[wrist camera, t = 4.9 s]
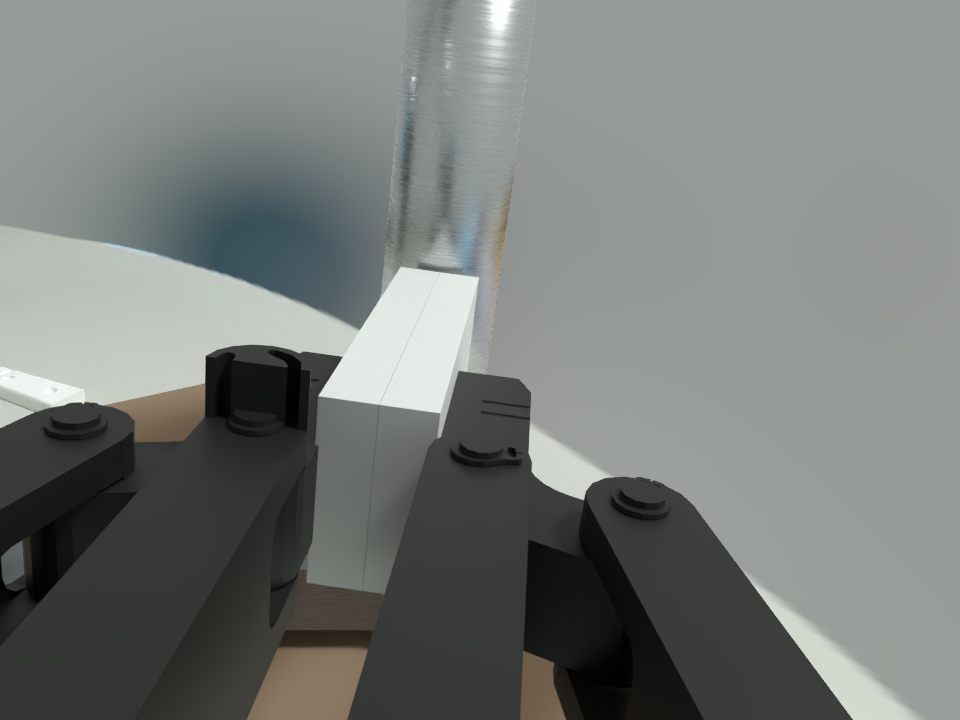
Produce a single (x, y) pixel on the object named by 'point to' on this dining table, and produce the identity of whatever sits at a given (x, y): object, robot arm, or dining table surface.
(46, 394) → the butcher knife
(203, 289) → the dining table surface
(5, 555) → the crank handle
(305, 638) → the dial plate
